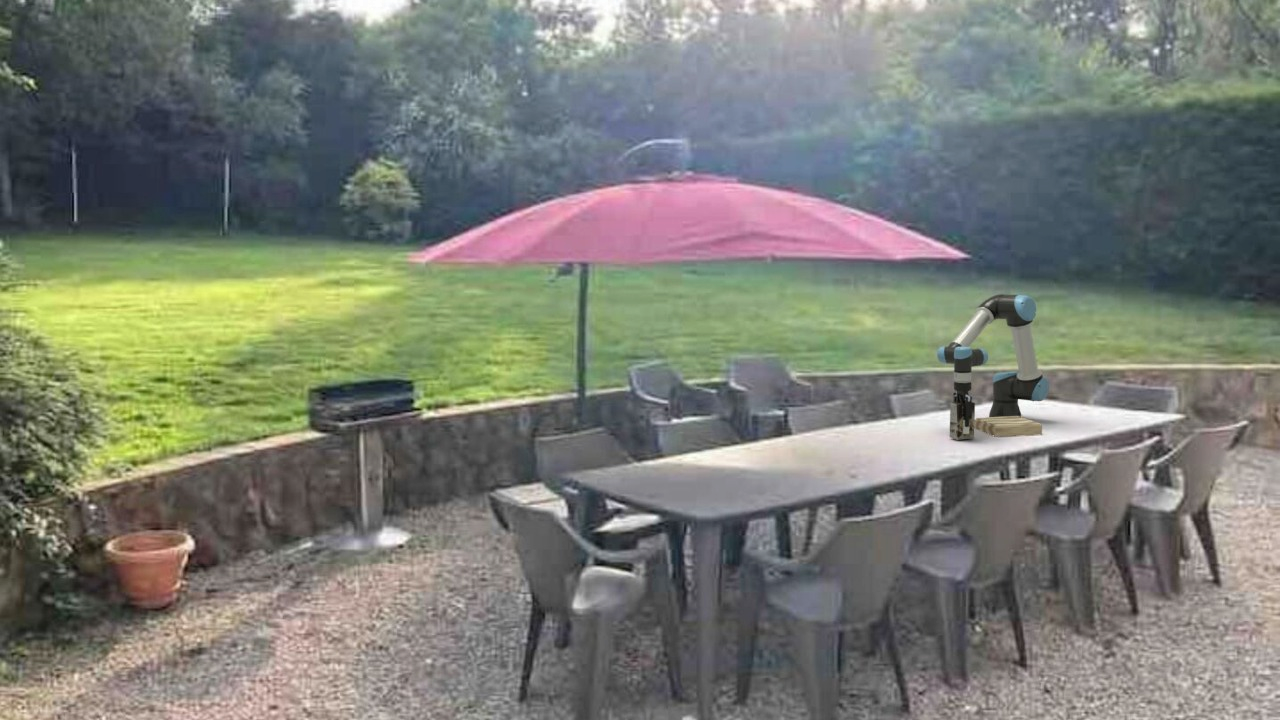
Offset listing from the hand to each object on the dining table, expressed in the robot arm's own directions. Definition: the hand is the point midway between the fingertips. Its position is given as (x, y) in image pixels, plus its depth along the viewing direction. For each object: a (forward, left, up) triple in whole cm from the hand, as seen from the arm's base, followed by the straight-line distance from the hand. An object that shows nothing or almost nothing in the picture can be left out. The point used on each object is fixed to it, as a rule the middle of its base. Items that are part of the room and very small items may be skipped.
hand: (962, 432), depth 495 cm
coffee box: (0, 0, -3) cm, 3 cm away
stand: (-12, +28, -3) cm, 30 cm away
